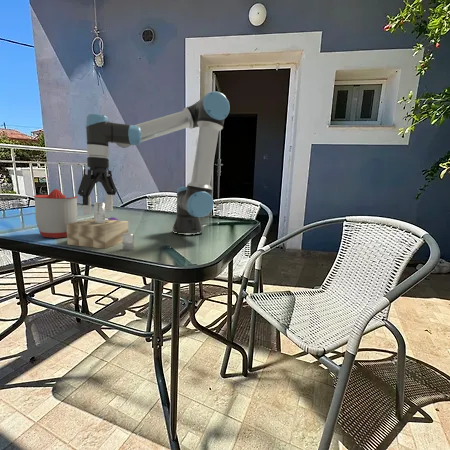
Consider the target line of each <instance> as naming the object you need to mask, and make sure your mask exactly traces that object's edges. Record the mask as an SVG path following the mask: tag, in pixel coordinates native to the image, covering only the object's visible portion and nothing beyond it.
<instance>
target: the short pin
mask: <svg viewBox="0 0 450 450" xmlns="http://www.w3.org/2000/svg"><path fill="white" fill-rule="evenodd" d="M121 243H122V245H121V246H122V251H124V252H131V251H135V233H132V232H128V233H123V234H122V242H121Z"/></svg>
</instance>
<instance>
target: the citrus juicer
mask: <svg viewBox="0 0 450 450" xmlns="http://www.w3.org/2000/svg"><path fill="white" fill-rule="evenodd" d="M33 197H34V209H35V211H34V212H35V213H34V214H35V215H34V216H35V222H36V226H37V229H38V232H39V233H40V235H41V237H44V238H54V239H61V238H65V237H66V238H67V224H68V223H73V222H78V196H76V195H74V196H73V197H66V195H64V194H63V193H62V192H61V191H60V190H59V189H58V188H54V189H53V190H52V191H50V193H48V194H35V195H33Z"/></svg>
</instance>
